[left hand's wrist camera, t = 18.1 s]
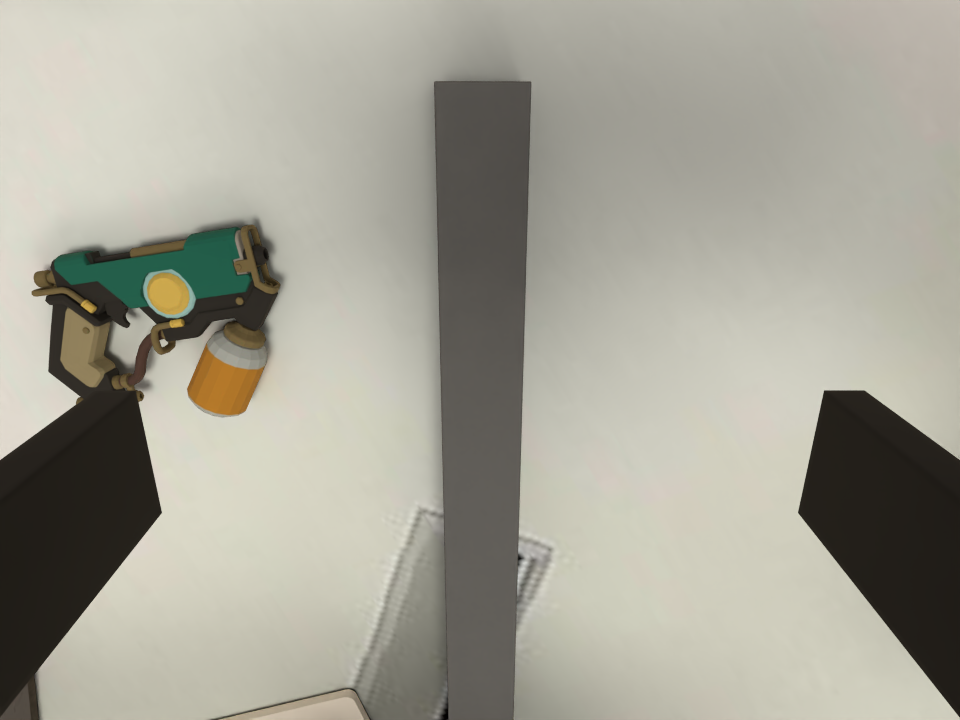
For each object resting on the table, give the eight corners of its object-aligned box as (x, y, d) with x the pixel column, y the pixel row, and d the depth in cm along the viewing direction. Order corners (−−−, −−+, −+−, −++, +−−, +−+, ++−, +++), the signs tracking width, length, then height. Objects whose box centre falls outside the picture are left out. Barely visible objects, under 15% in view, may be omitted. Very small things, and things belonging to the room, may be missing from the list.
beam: (442, 86, 41) (434, 81, 33) (522, 86, 41) (531, 81, 33) (454, 719, 61) (450, 802, 53) (507, 719, 61) (511, 803, 53)
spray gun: (70, 394, 49) (50, 193, 44) (285, 423, 49) (290, 224, 44) (29, 417, 45) (3, 198, 40) (264, 449, 45) (267, 233, 40)
